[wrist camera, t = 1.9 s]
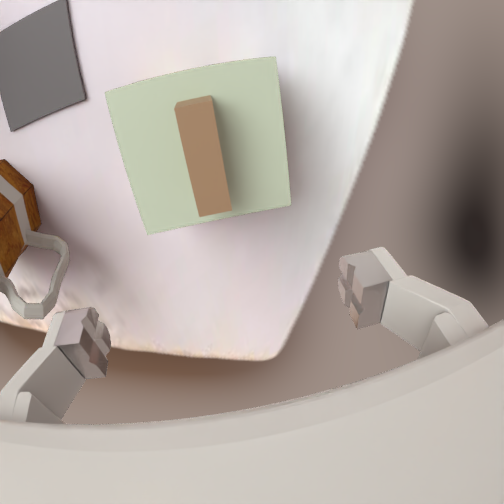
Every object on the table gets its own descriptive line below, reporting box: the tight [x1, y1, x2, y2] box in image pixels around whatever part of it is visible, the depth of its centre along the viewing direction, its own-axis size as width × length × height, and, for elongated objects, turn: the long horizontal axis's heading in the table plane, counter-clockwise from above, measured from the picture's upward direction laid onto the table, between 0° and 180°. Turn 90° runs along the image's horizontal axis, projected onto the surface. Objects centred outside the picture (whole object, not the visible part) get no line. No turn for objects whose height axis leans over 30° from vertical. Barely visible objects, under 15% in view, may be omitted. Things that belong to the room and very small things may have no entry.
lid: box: [105, 57, 291, 235], centre depth 23 cm, size 12×12×6 cm
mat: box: [0, 0, 86, 132], centre depth 22 cm, size 10×12×1 cm
